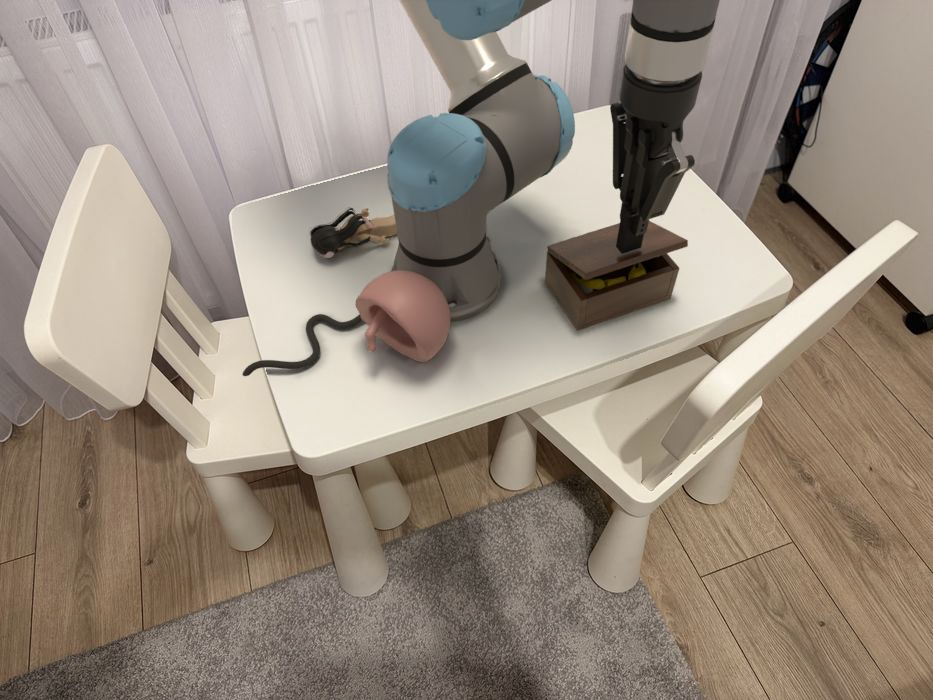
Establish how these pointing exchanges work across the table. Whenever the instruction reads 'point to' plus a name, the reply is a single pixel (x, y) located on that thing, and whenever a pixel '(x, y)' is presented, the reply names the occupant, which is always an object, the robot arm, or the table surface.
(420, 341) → the mortar and pestle
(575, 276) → the yellow curved piece
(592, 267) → the lid
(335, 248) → the toy figure
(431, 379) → the table surface
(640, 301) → the chest
